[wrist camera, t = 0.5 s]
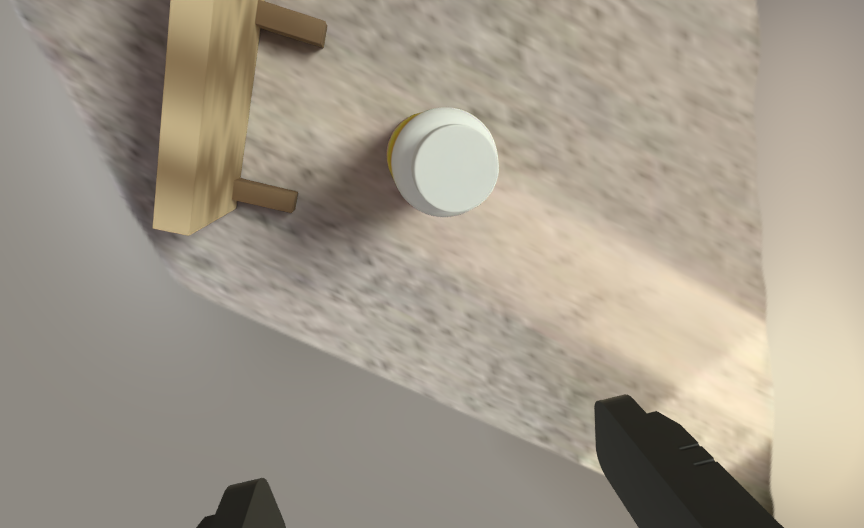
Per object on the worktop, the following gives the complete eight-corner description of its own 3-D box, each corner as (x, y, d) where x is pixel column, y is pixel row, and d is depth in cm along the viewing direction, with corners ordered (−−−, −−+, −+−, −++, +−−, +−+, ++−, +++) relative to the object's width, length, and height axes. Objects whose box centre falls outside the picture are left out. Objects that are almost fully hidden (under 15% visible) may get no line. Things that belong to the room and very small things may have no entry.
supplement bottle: (388, 197, 35) (396, 233, 22) (383, 113, 32) (389, 104, 20) (466, 193, 35) (514, 227, 23) (466, 111, 33) (519, 102, 21)
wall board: (243, -87, 27) (184, -183, 19) (340, -52, 29) (326, -127, 20) (209, 202, 33) (152, 228, 24) (293, 221, 34) (266, 251, 26)
